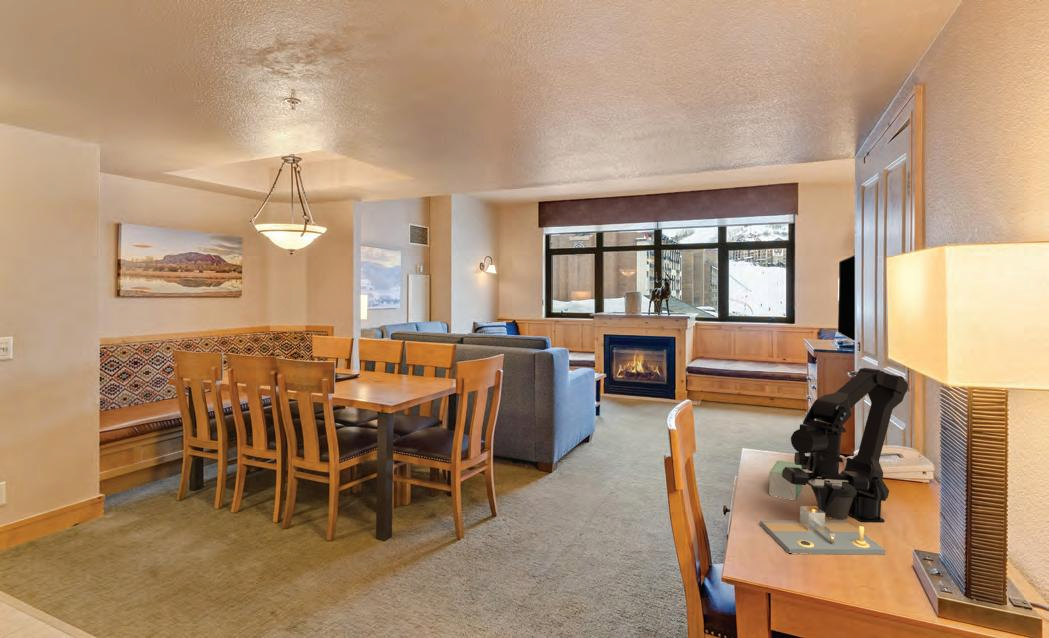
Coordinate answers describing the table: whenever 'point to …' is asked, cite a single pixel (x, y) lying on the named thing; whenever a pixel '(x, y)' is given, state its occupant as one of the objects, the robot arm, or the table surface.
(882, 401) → the robot arm
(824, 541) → the jig plate
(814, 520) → the white block with bar
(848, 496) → the coffee cup
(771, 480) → the box
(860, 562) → the table surface
